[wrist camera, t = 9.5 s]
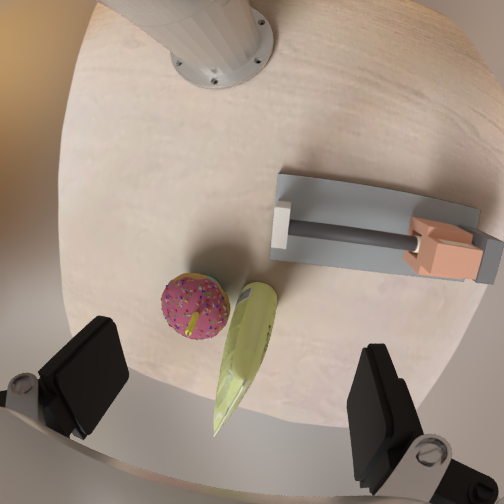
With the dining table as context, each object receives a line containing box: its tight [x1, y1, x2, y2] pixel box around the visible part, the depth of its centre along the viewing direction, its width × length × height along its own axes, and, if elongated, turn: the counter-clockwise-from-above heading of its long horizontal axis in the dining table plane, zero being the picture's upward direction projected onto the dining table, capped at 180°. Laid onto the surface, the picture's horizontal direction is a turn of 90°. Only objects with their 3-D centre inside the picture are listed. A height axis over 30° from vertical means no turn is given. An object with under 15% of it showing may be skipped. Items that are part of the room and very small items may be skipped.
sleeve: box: [403, 217, 483, 280], centre depth 26 cm, size 6×5×8 cm
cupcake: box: [161, 273, 230, 340], centre depth 32 cm, size 9×8×12 cm
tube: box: [213, 282, 277, 437], centre depth 28 cm, size 6×5×20 cm
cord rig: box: [270, 173, 504, 284], centre depth 28 cm, size 27×10×8 cm, turn 86°
